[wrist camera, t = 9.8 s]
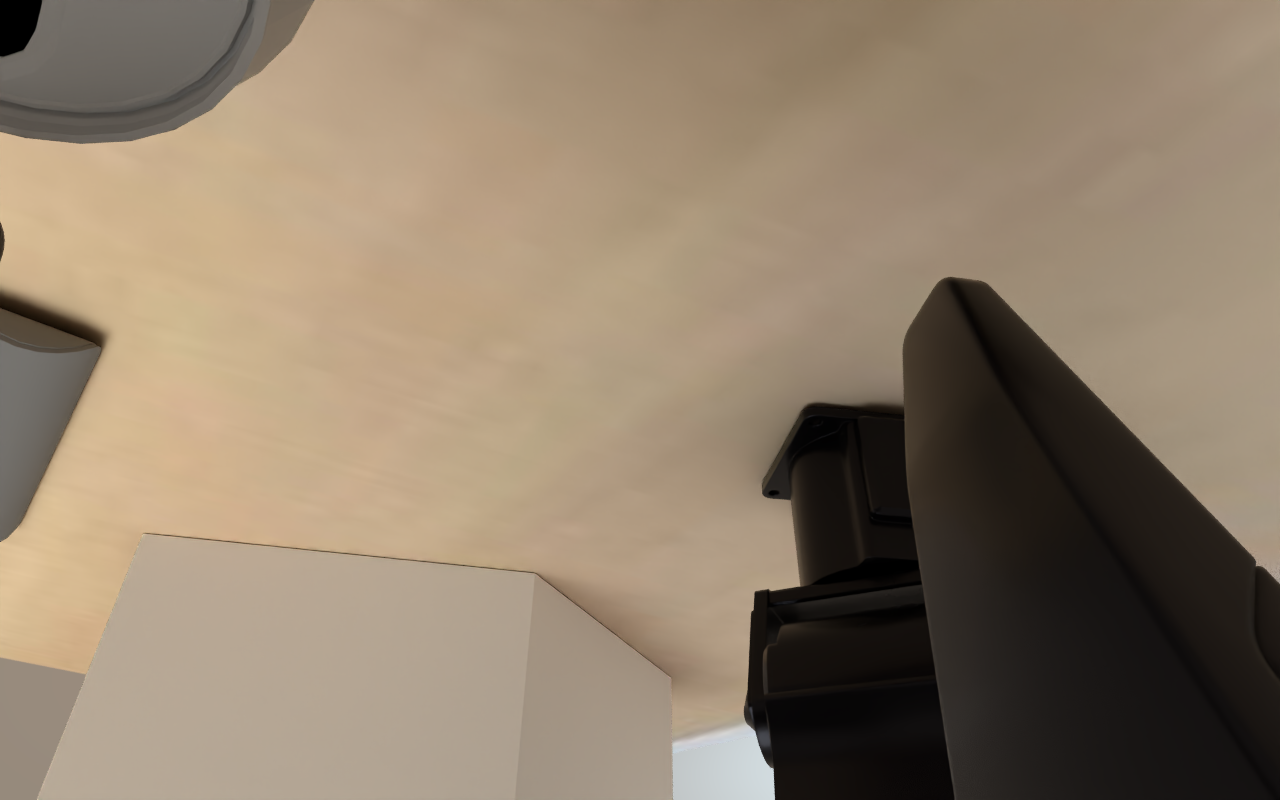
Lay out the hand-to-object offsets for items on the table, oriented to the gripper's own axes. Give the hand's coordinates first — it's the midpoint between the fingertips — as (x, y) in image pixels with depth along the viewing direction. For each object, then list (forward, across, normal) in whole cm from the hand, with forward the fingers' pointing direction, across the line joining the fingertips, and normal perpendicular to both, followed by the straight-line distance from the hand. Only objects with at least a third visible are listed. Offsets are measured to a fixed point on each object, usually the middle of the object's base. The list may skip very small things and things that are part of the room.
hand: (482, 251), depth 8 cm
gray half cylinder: (+13, +21, +26) cm, 36 cm away
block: (+13, +3, +44) cm, 46 cm away
